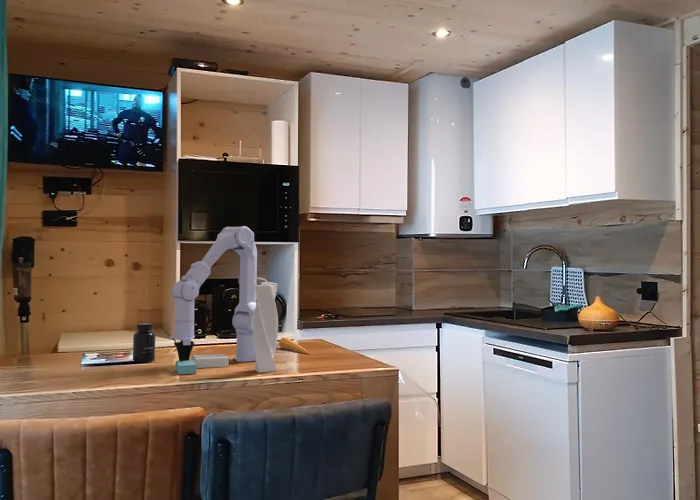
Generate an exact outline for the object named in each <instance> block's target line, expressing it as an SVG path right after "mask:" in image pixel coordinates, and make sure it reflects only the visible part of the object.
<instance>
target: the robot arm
mask: <svg viewBox="0 0 700 500" xmlns="http://www.w3.org/2000/svg"><path fill="white" fill-rule="evenodd" d="M230 249H233V250H234V252H235V253H237V254H238V255H239V295H238V297H239V302H238V305H236V307H235V308H234V314H233V316H232V320H231V321H232V323H231V324H232V327H233V328H234V330H235V333H236V349H235V350H236V353H235V354H236V356H233V359H234V360H235V361H237V362H238V363H239V362H242V363H243V362H256V360H257V359H256V353H255V346H254V336H253V320H254V312H255V307H256V303H257V299H256V293H255V287H254V283H253V280H252V279H253V278H254V277H258V276H257V275H258V274H257V273H258V271H257V270H258V250H257V249H258V248H257V246H256V242H255V233H254V231H253V230H251V229H250V228H249V227H248V226H246V225H243V226H242V225H241V226H226V227H223V228H222V230H221V232H219V233H218V234H217V237H216V239H215V241H214V243H213V244H212V245H211V246H210V248H209V249H208V251H207V252H206V253H205V256H203V258H202V259H201V261H196V262H194V263H193V262H192V264H190V268H189V269H188V271H187V272H186V274H184V275H182V276H181V280H179V281H177V282H175V283H174V285H173V286H172V288H171V289H170V295H171V296H172V298H173V301H174V334H173V335H172V334H171V335H170V337H169V338H170V339H174V340H178V341H177V342H176V341H175V342H174V343H173V344H174V345H175V349H176V351H177V356H178V361H187V360H190V359H191V355H192V350H193V348H194V346H195V342H194V341H193V339H195V336H196V335H195V299H196V298H198V296H199V293H200V288H201V286H202V285H203V284H204V283H205V281H206V280H207V279H208V277H209V276H210V275H211V273H212V271H211V268H212V267H213V265H214V264H215V263H216V262H217V261H218V259H220V258H221V256H223V254H224V253H225V252H226V251H228V250H230ZM257 280H258V279H254V282H255V285H257Z"/></svg>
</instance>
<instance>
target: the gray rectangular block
mask: <svg viewBox="0 0 700 500" xmlns="http://www.w3.org/2000/svg"><path fill="white" fill-rule="evenodd" d="M190 360H193V361H194V362H195V364H196V369H203V368H204V369H205V368H208V369H209V368H222V367H223V368H225V367H226V366H227V367H229V357H228V356H227V355H226V354H225V353H215V354H213V353H212V354H210V353H209V354H190Z"/></svg>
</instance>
